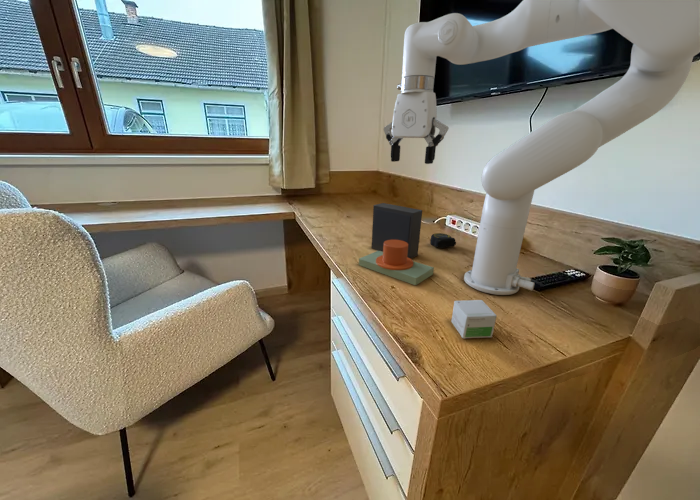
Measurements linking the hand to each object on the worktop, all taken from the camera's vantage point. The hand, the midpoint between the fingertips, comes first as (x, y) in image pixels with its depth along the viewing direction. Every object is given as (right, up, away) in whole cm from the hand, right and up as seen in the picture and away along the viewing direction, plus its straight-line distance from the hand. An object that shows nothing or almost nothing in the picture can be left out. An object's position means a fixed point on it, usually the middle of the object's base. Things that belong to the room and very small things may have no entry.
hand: (411, 162), depth 79 cm
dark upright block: (-2, -23, +18) cm, 29 cm away
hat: (-4, -26, +4) cm, 26 cm away
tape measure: (+15, -22, +23) cm, 35 cm away
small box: (+7, -38, -21) cm, 43 cm away
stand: (-4, -28, +5) cm, 28 cm away
